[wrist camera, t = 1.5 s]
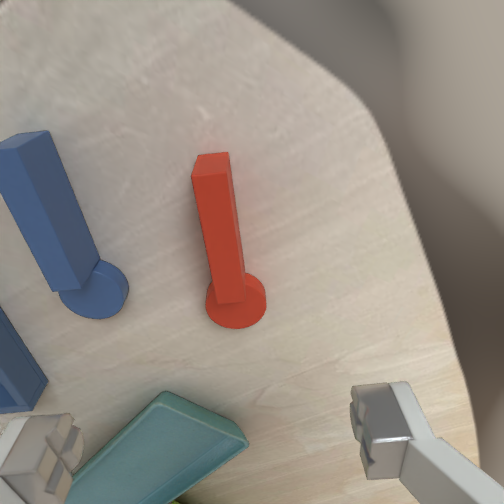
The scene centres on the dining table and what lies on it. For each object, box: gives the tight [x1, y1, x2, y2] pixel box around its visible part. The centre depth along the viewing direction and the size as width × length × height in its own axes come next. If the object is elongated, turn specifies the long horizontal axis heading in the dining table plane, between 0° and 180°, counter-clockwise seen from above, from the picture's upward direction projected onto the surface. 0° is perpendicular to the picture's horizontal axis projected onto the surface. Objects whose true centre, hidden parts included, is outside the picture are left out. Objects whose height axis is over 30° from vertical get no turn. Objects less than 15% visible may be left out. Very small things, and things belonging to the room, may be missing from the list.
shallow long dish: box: [64, 391, 249, 504], centre depth 33 cm, size 26×9×2 cm, turn 140°
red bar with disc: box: [191, 152, 266, 329], centre depth 20 cm, size 11×4×3 cm, turn 6°
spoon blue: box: [0, 131, 129, 319], centre depth 19 cm, size 11×4×3 cm, turn 6°
